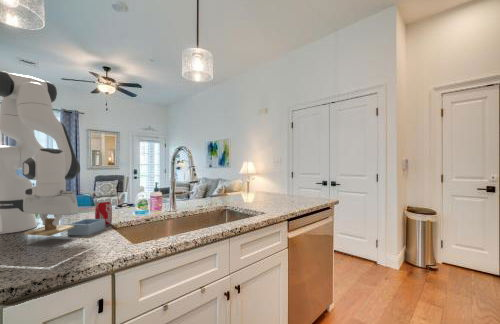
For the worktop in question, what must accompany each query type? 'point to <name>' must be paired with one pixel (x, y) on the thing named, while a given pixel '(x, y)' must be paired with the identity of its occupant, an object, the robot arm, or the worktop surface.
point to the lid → (49, 229)
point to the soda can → (104, 211)
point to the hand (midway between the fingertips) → (50, 225)
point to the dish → (87, 227)
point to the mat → (50, 241)
